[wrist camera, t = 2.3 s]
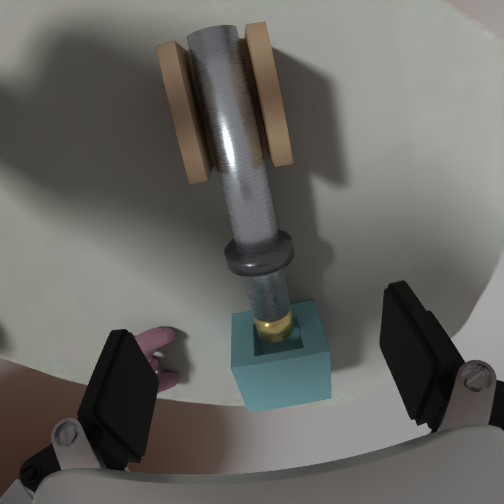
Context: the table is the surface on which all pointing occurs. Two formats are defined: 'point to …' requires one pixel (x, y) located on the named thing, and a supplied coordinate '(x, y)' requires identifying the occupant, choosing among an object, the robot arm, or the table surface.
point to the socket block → (281, 361)
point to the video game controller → (148, 346)
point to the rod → (243, 178)
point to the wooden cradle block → (191, 111)
